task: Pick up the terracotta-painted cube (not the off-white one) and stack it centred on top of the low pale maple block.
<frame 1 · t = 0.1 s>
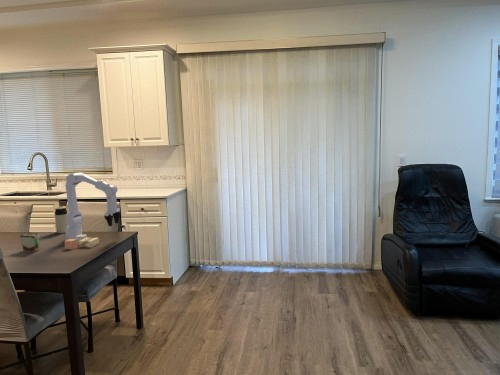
hand: (113, 224, 236), 10 cm above the table, fingers open, 7 cm apart
travel mug: (62, 232, 262), on the table
off-white cube: (81, 243, 232), on the table
maple block: (89, 245, 226), on the table
food container: (33, 250, 220), on the table
terracotta cube: (71, 247, 222), on the table
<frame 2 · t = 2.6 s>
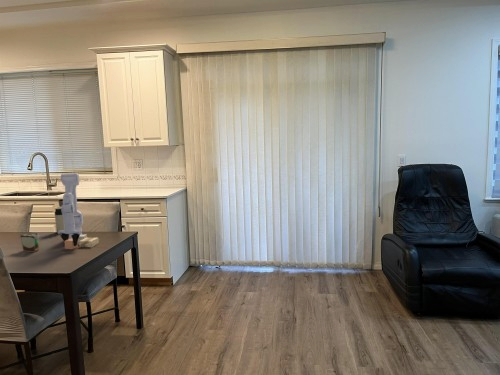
hand: (71, 245, 222), 1 cm above the table, fingers closed on terracotta cube, 5 cm apart
terracotta cube: (71, 247, 222), on the table, touching gripper
everything else where it was.
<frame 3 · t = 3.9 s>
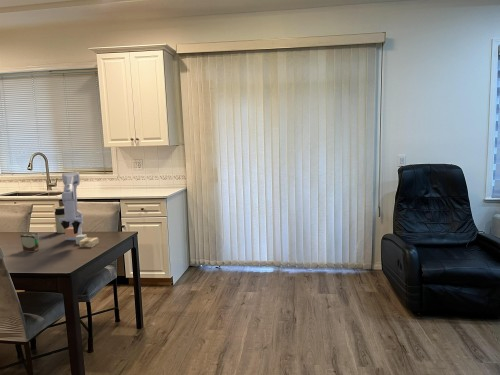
hand: (71, 233, 221), 9 cm above the table, fingers closed on terracotta cube, 5 cm apart
terracotta cube: (71, 236, 221), point 7 cm above the table, touching gripper
everything else where it was.
when the fingers open (6 cm above the table, at t = 5.4 s): terracotta cube stays where it is, resting on maple block.
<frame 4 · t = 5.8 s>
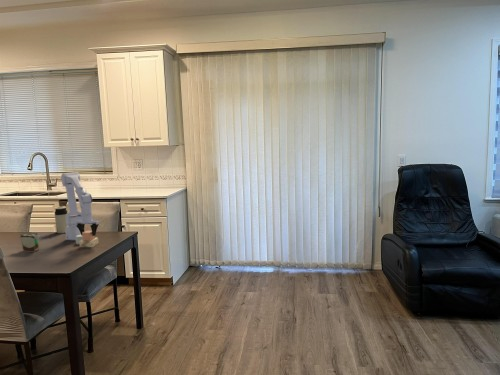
hand: (88, 235, 226), 6 cm above the table, fingers open, 7 cm apart
maple block: (89, 245, 226), on the table, touching terracotta cube
terracotta cube: (88, 239, 226), point 4 cm above the table, touching maple block
everything else where it was.
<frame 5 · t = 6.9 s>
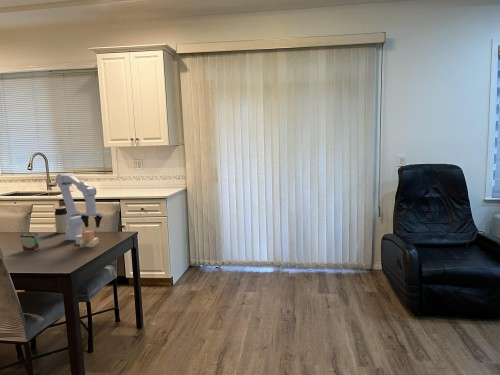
hand: (92, 227, 231), 10 cm above the table, fingers open, 7 cm apart
nothing on the table moved.
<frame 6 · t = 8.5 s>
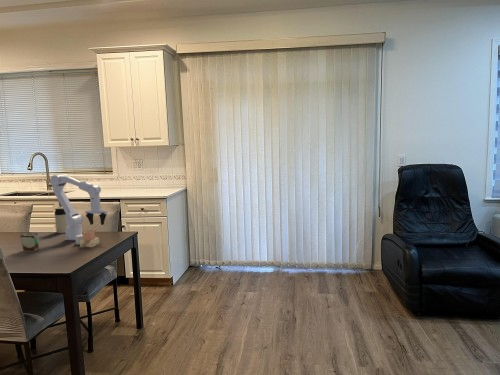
hand: (97, 224, 238), 10 cm above the table, fingers open, 7 cm apart
nothing on the table moved.
at the end: terracotta cube 0.2 cm off-centre on the maple block, point 4.0 cm above the maple block's base; terracotta cube tilted 0°; the gripper is holding nothing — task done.
